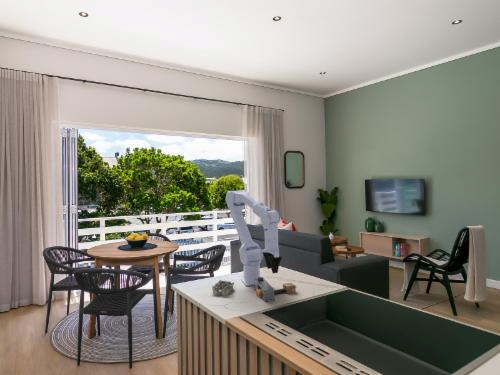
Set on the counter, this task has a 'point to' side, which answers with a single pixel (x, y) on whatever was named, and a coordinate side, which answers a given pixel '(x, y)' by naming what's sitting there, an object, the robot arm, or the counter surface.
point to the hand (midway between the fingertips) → (272, 270)
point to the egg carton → (225, 287)
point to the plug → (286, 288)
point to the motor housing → (265, 289)
